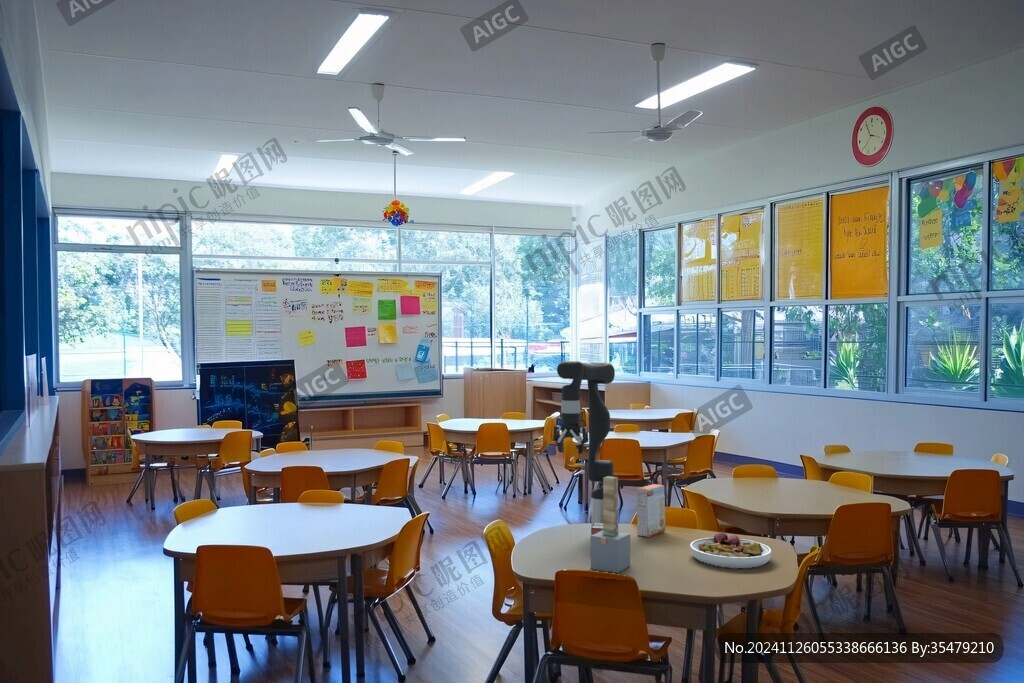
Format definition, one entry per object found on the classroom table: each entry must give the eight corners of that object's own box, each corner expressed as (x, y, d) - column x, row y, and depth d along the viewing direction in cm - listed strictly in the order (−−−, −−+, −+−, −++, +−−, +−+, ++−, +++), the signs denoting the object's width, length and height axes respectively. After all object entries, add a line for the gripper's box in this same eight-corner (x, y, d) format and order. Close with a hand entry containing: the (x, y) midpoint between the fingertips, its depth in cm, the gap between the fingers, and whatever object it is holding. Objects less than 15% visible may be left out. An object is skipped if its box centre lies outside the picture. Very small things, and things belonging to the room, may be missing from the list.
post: (607, 540, 281) (607, 476, 281) (618, 541, 279) (618, 477, 279) (602, 542, 277) (602, 477, 278) (613, 544, 275) (613, 478, 275)
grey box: (603, 561, 285) (603, 529, 286) (630, 565, 279) (630, 533, 280) (589, 568, 276) (589, 536, 276) (616, 573, 270) (616, 540, 270)
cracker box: (654, 530, 336) (653, 483, 336) (665, 532, 332) (665, 485, 332) (636, 535, 326) (636, 487, 326) (648, 538, 322) (647, 489, 322)
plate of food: (784, 570, 275) (784, 549, 275) (703, 572, 273) (703, 550, 273) (753, 549, 305) (753, 529, 305) (681, 550, 303) (681, 530, 303)
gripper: (591, 411, 294) (591, 453, 294) (559, 410, 302) (559, 450, 301) (582, 413, 288) (582, 455, 287) (550, 411, 295) (550, 452, 295)
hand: (570, 453), depth 294 cm, fingers open, 8 cm apart
